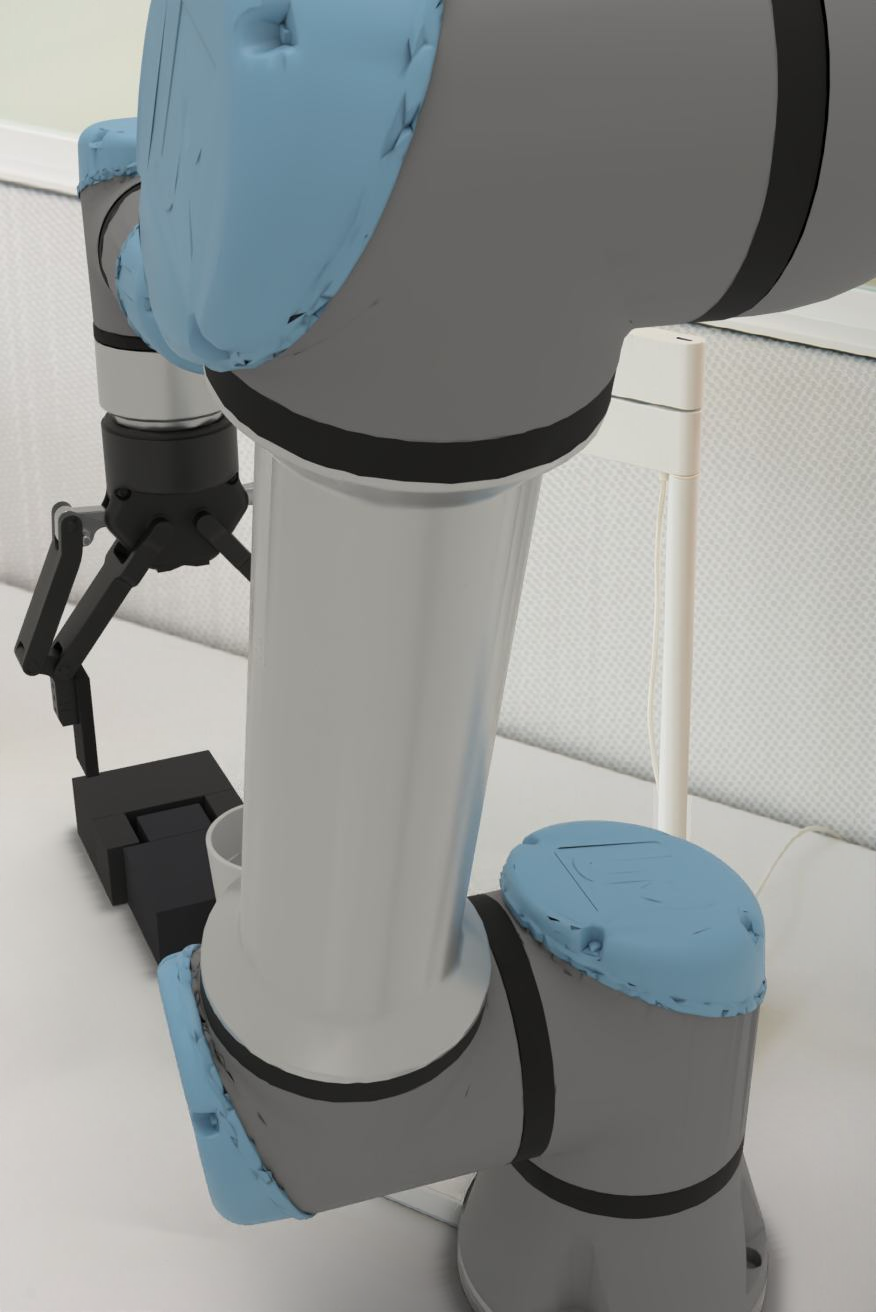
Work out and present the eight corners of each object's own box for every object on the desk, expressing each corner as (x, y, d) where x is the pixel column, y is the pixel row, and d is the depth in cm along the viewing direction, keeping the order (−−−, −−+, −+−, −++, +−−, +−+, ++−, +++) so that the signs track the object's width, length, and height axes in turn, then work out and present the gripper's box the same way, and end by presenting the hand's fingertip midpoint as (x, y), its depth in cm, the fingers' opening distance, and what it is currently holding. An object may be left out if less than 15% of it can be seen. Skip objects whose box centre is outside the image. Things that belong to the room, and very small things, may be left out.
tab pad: (282, 941, 105) (279, 882, 103) (161, 972, 102) (155, 912, 100) (227, 852, 114) (224, 796, 112) (115, 878, 111) (109, 822, 109)
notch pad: (255, 872, 112) (252, 816, 110) (112, 906, 108) (106, 849, 106) (212, 802, 120) (208, 749, 118) (77, 832, 116) (71, 777, 114)
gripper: (347, 367, 99) (353, 683, 108) (-68, 417, 89) (-21, 757, 99) (396, 401, 92) (398, 733, 102) (-44, 459, 83) (3, 817, 93)
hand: (192, 745), depth 100 cm, fingers open, 12 cm apart
